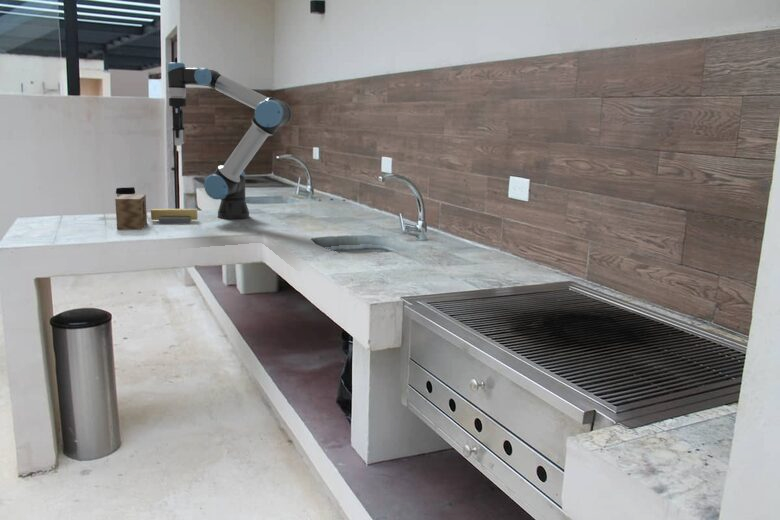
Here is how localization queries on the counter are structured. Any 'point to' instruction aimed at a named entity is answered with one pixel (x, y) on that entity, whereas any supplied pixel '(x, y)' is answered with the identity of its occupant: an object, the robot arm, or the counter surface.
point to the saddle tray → (174, 221)
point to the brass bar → (174, 213)
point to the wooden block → (131, 211)
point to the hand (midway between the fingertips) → (179, 144)
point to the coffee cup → (125, 191)
